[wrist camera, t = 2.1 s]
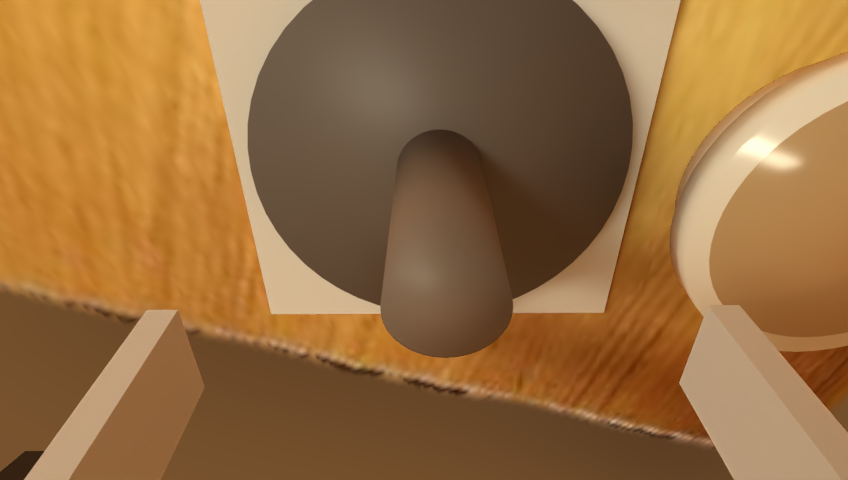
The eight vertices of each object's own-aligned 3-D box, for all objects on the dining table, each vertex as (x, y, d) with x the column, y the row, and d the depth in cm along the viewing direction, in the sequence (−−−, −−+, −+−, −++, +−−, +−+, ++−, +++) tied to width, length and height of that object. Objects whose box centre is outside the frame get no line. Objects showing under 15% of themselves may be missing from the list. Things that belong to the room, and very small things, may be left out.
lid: (217, -48, 18) (23, -18, 9) (665, -52, 18) (889, -25, 9) (286, 299, 26) (220, 481, 18) (588, 298, 26) (666, 480, 18)
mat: (188, -81, 18) (181, -81, 17) (693, -86, 18) (701, -86, 17) (274, 306, 28) (271, 314, 27) (600, 305, 27) (603, 312, 27)
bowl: (681, 21, 20) (751, 49, 15) (1014, 18, 19) (1177, 45, 15) (615, 284, 27) (650, 352, 22) (860, 282, 27) (942, 351, 22)
